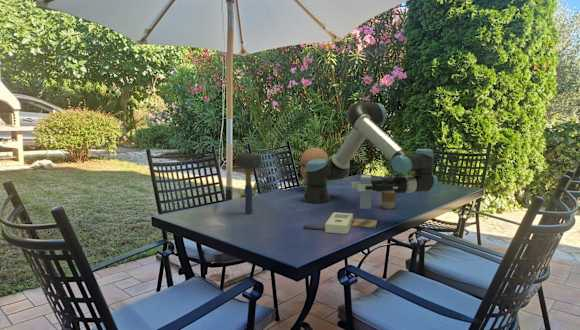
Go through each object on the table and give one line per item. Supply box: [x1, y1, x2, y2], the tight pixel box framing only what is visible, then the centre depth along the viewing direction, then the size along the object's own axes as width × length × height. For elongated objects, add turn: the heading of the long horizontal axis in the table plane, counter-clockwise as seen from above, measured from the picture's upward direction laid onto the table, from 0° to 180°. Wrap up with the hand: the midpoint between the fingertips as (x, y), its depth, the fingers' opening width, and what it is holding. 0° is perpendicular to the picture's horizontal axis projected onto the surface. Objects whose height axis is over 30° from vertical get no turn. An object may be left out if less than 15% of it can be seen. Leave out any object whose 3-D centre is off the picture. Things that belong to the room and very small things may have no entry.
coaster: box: [351, 218, 378, 229], centre depth 164 cm, size 10×10×1 cm
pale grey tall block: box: [359, 174, 373, 210], centre depth 162 cm, size 4×4×14 cm
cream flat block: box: [302, 211, 354, 235], centre depth 161 cm, size 19×20×4 cm
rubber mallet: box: [234, 152, 262, 215], centre depth 181 cm, size 12×8×30 cm, turn 52°
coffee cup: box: [380, 177, 397, 210], centre depth 192 cm, size 8×8×15 cm
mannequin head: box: [299, 147, 329, 184], centre depth 238 cm, size 16×22×28 cm
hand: (354, 186), depth 160 cm, fingers closed on pale grey tall block, 6 cm apart
